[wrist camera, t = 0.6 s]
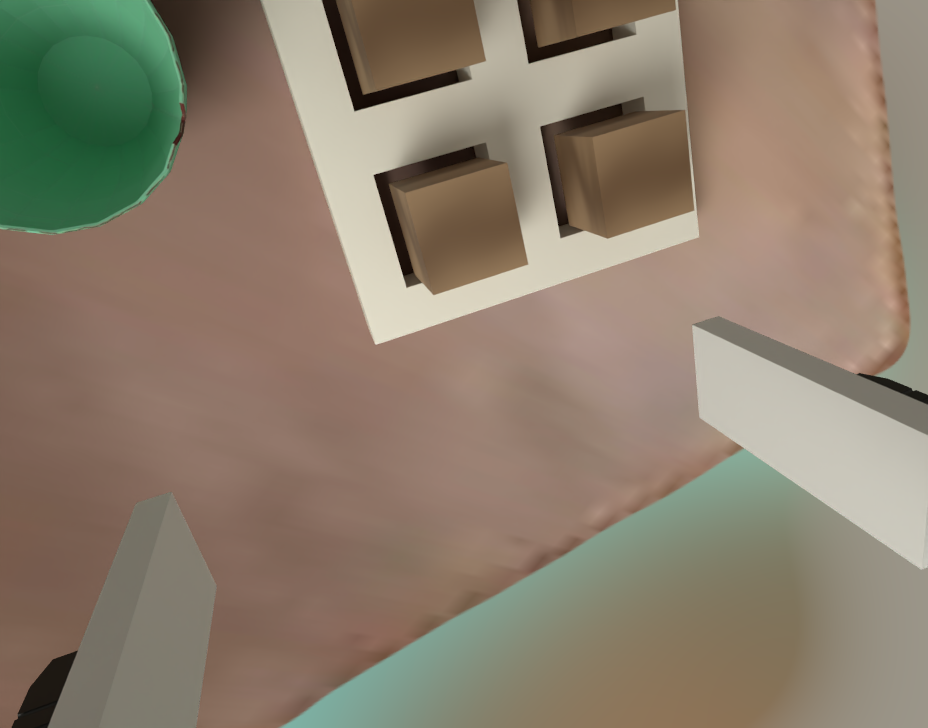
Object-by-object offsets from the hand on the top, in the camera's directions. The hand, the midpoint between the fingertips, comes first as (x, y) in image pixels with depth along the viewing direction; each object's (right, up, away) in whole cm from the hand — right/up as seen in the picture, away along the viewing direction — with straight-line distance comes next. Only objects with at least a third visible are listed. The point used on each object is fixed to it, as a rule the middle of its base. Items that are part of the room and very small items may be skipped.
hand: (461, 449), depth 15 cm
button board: (+2, +16, +19) cm, 25 cm away
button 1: (-1, +10, +17) cm, 20 cm away
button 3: (+8, +13, +19) cm, 24 cm away
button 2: (-3, +18, +14) cm, 23 cm away
